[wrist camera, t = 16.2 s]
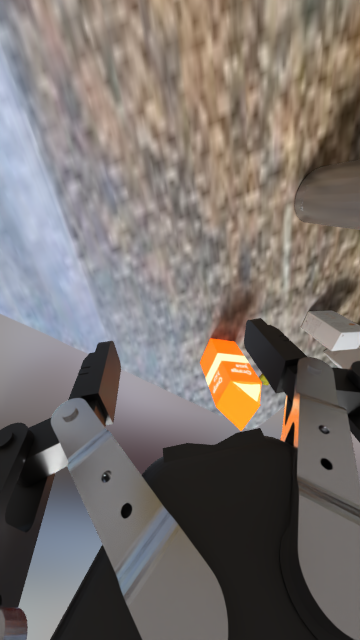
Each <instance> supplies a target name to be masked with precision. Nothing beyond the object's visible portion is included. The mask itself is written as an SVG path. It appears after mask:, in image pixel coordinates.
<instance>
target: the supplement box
mask: <svg viewBox="0 0 360 640" xmlns="http://www.w3.org/2000/svg"><path fill="white" fill-rule="evenodd" d="M324 353H325V354H326V355H327V356H328V357H329V358H330V360H331V361H332V362H333V363H334V364H336V365H337V366H338V367H339V368H343V369H349V368H350V367H351V365H352V363H353V362H355V361H360V349H359V348H357V349H349V350H338V351H330V350H329V349H326V350H325V351H324Z"/></svg>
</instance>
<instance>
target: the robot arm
mask: <svg viewBox="0 0 360 640" xmlns="http://www.w3.org/2000/svg"><path fill="white" fill-rule="evenodd" d="M295 212H296V215H297V216H298V218H299V219H300V220H301V221H303V222H307V223H314V224H321V225H328V226H335V227H343V228H350V229H358V230H360V160H354V161H349V162H344V163H338V164H332V165H327V166H322V167H319V168H317V169H315V170H314V171H312V172H311V173H310V174H309V175H308V176H307V177H306V178H305V179H304V180H303V182H302V183H301V185H300V187H299V189H298V191H297V194H296V198H295ZM244 344H245V348H246V350H247V352H248V353H249V354H250V356H251V357H252V359H253V360H254V362H255V363H256V365H257V366H258V368H259V369H260V371H261V372H262V374H263V375H264V376H265V378H266V379H267V381H268V382H269V384H270V385H271V387H272V388H273V390H274V391H275V393H280V392H285V393H286V395H287V396H286V400H285V410H284V421H283V429H282V435H281V439H280V440H279V439H276V438H273V437H268V436H264V435H263V433H262V431H261V429H260V428H258V429H254V430H249V431H244V432H239V433H236V434H234V435H233V436H231V437H229V438H227V439H225V440H224V441H221V442H220V443H218V444H216V445H205V444H192V443H186V444H181V445H176V446H172V447H167V448H163V457H161V458H159V459H158V460H157V461H155V462H154V463H153V464H151V466H149V467H148V468H147V470H145V472H144V473H143V474H142V475H141V474H140V473H139V472H138V470H137V469H136V467H135V466H134V465H133V463H132V462H131V461H130V459H129V458H128V457H127V455H126V454H125V452H124V451H123V450H122V448H121V447H120V445H119V444H118V443H117V441H116V440H115V438H114V437H113V436H112V434H111V433H110V432H109V431H108V430H106V429H105V426H106V425H110V424H113V421H114V414H115V407H116V400H117V393H118V386H119V379H120V372H121V365H120V360H119V357H118V354H117V351H116V348H115V345H114V342H113V341H108V342H101V343H98V345H97V348H96V351H95V352H94V353H90V354H89V355H88V356H87V357H86V358H85V359H84V360H83V363H82V366H81V369H80V371H79V373H78V376H77V379H76V381H75V384H74V386H73V389H72V392H71V394H70V397H69V400H68V401H66V402H64V403H63V404H61V405H60V406H59V407H58V408H57V409H56V410H55V412H54V413H53V415H52V417H51V418H49V419H47V420H45V421H43V422H41V423H39V424H36V425H34V426H32V427H30V428H28V427H27V426H26V425H25V424H23V423H14V424H11V425H9V426H7V427H5V428H3V429H1V430H0V640H26V639H27V628H28V626H27V619H26V615H25V613H24V611H23V610H22V609H20V608H18V606H19V602H20V599H21V595H22V591H23V587H24V584H25V580H26V577H27V573H28V570H29V566H30V563H31V559H32V555H33V552H34V548H35V545H36V541H37V537H38V533H39V530H40V526H41V523H42V519H43V516H44V512H45V508H46V505H47V501H48V498H49V494H50V491H51V487H52V483H53V480H54V476H55V473H56V472H57V471H59V470H60V469H62V468H64V467H66V466H68V469H69V471H70V474H71V476H72V478H73V480H74V483H75V484H76V487H77V489H78V491H79V493H80V496H81V498H82V500H83V502H84V505H85V507H86V509H87V511H88V513H89V516H90V518H91V520H92V522H93V524H94V527H95V529H96V531H97V533H98V535H99V538H100V539H101V542H102V544H103V545H102V546H101V548H100V550H99V552H98V554H97V555H96V557H95V559H94V561H93V563H92V565H91V566H90V568H89V570H88V572H87V574H86V575H85V577H84V579H83V581H82V583H81V585H80V586H79V588H78V590H77V592H76V594H75V595H74V597H73V599H72V601H71V603H70V604H69V607H68V608H67V610H66V612H65V614H64V615H63V617H62V619H61V621H60V623H59V624H58V627H57V628H56V630H55V632H54V634H53V635H52V637H51V639H50V640H360V483H359V477H358V471H357V466H356V460H355V454H354V449H353V443H352V438H351V432H352V434H353V435H354V436H355V437H356V438H357V440H358V441H359V442H360V361H355V362H353V363H352V365H351V367H350V368H349V369H343V368H331V367H330V366H329V365H328V364H327V363H325V362H324V361H322V360H319V359H317V358H312V357H307V356H306V355H305V354H304V353H303V352H302V351H301V350H300V349H299V348H298V347H297V346H296V345H295V344H293V343H292V342H291V341H289V339H288V338H287V337H286V336H284V334H283V333H282V332H281V331H280V330H279V329H277V328H275V327H273V326H271V325H267V324H266V323H265V322H264V321H263V320H262V319H261V318H259V319H252V320H248V321H247V323H246V330H245V338H244ZM350 431H351V432H350Z"/></svg>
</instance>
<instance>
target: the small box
mask: <svg viewBox="0 0 360 640" xmlns="http://www.w3.org/2000/svg"><path fill="white" fill-rule="evenodd" d="M301 328H302V329H303V330H304V331H306V332H307V333H308V334H309V335H311V336H312V337H313V338H315V339H316V340H317V341H319V342H320V343H321V344H322V345H324V346H325V347H326V348H328V349H329V350H330V351H338V350H349V349H357V348H358V347H359V345H360V325H358V324H356V323H354V322H353V321H351V320H349V319H347V318H345V317H344V316H342V315H340V314H338V313H336V312H335V311H333V310H328V311H308V313H307V315H306V318H305V320H304V322H303V324H302V327H301Z"/></svg>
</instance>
